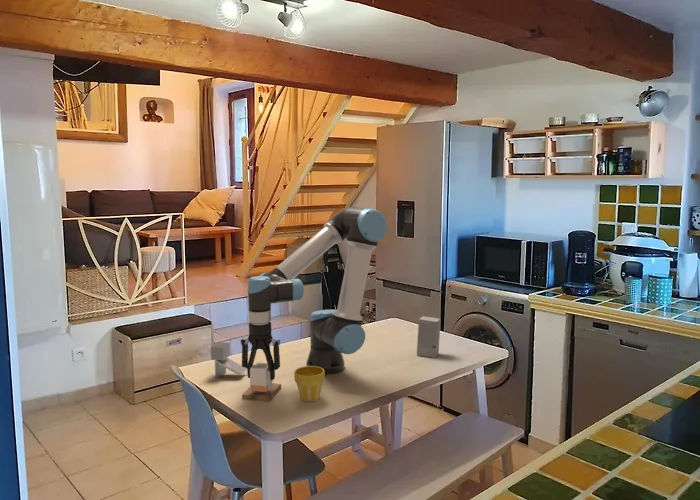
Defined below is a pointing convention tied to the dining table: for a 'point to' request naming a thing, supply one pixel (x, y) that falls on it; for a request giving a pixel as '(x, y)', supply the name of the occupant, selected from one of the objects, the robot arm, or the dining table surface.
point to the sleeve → (259, 377)
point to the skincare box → (428, 336)
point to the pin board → (261, 393)
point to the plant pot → (309, 382)
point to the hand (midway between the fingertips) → (261, 387)
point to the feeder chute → (224, 360)
